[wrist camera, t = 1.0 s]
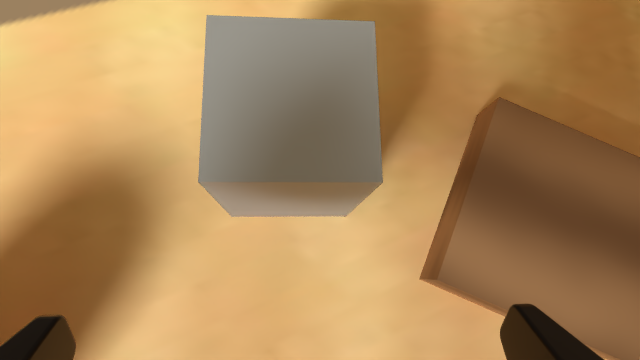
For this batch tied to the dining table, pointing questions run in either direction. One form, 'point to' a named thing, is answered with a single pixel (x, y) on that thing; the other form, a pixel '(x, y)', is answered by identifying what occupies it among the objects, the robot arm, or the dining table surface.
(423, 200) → the dining table surface
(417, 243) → the dining table surface
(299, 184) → the tower block
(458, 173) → the base brick
